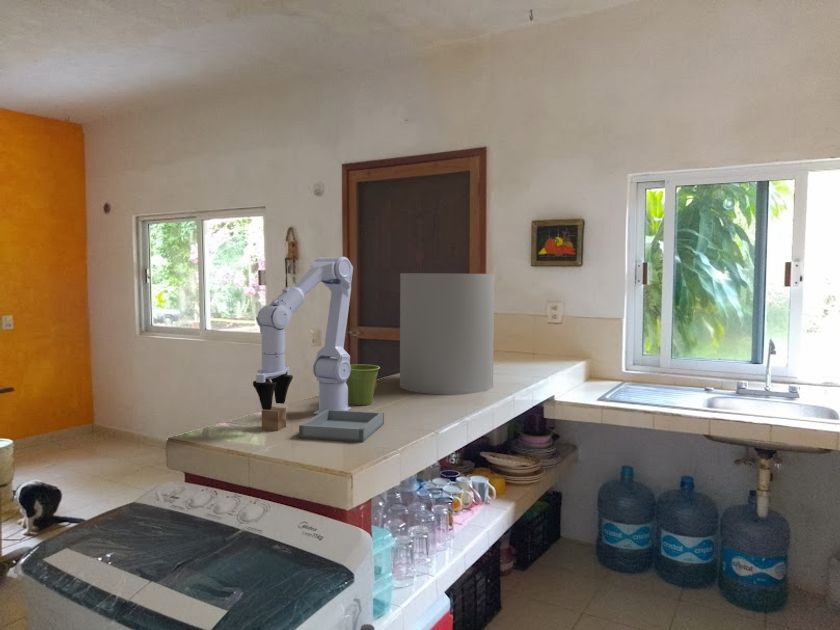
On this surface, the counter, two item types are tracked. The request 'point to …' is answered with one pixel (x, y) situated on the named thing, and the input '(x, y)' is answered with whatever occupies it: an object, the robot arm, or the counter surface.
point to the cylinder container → (446, 332)
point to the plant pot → (361, 384)
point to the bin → (342, 425)
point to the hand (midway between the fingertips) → (273, 406)
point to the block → (274, 419)
